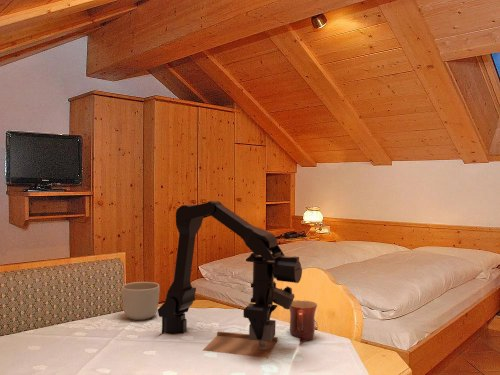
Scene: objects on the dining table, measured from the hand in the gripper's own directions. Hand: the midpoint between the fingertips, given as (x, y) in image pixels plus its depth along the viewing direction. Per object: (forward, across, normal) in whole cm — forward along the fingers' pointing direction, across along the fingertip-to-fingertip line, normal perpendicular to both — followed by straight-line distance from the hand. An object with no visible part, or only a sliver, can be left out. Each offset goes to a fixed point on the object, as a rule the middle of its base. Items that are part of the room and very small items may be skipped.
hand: (262, 335), depth 123 cm
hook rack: (+4, 0, +6) cm, 8 cm away
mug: (+5, +13, -9) cm, 16 cm away
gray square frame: (0, 0, 0) cm, 0 cm away
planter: (+5, +19, +47) cm, 51 cm away
